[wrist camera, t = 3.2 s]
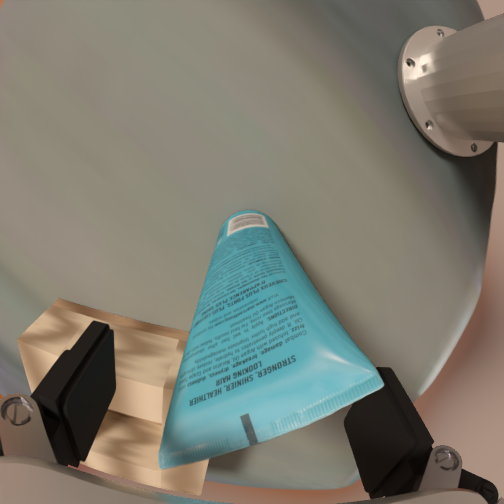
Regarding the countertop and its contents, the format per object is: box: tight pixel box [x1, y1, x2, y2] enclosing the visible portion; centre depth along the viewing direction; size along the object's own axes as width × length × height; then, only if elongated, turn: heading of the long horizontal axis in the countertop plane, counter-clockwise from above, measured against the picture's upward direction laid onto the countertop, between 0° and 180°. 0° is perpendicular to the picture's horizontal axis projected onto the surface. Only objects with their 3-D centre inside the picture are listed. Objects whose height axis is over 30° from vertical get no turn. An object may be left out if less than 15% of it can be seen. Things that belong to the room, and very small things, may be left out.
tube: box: [158, 210, 384, 470], centre depth 16 cm, size 7×5×19 cm, turn 127°
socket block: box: [17, 299, 209, 495], centre depth 27 cm, size 18×18×8 cm
